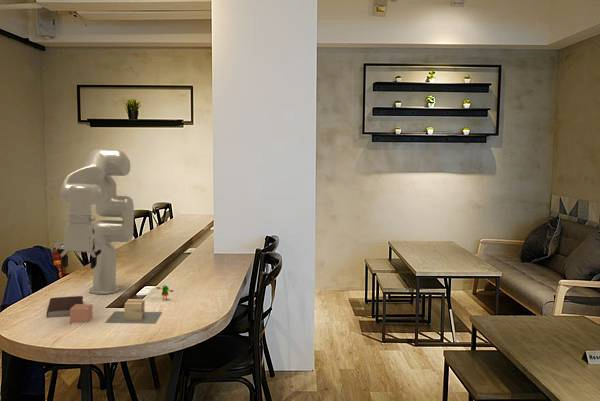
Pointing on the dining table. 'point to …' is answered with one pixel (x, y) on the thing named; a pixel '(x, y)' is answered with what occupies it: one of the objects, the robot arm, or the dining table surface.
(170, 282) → the dining table surface
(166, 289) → the toy character
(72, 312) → the terracotta block
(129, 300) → the maple block
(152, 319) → the plate
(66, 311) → the book
